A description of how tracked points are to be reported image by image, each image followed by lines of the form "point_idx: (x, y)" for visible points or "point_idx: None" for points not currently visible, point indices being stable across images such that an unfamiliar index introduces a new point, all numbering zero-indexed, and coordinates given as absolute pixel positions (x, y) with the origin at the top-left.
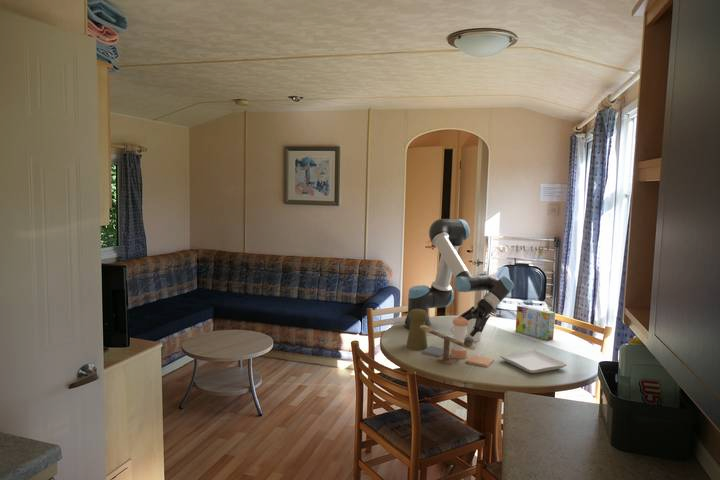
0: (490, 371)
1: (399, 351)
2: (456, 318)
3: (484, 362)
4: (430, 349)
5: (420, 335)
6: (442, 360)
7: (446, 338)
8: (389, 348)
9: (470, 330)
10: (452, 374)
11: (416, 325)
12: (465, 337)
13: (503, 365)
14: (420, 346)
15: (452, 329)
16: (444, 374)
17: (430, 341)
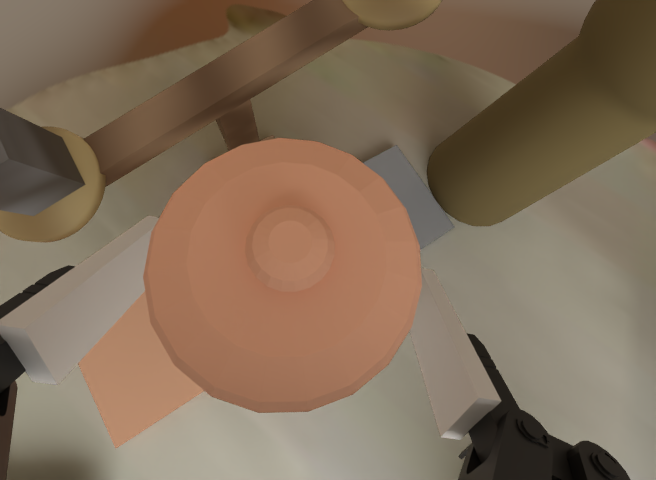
0: (12, 294)
1: (441, 87)
2: (323, 169)
3: (103, 336)
4: (406, 194)
5: (484, 124)
6: None
7: (209, 70)
8: (484, 75)
9: (68, 285)
10: (104, 103)
11: (555, 55)
12: (136, 227)
13: (31, 449)
14: (440, 157)
15: (422, 287)
16: (124, 76)
17: (541, 293)
